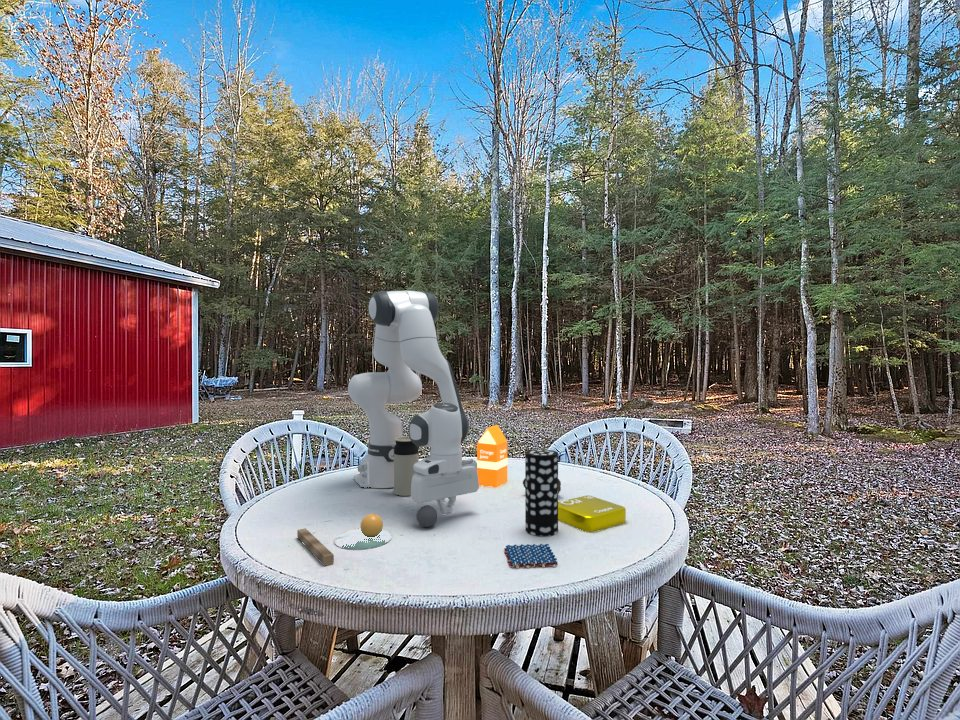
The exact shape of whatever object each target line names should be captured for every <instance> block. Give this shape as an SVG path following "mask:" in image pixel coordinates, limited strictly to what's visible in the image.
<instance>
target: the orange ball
mask: <svg viewBox="0 0 960 720" xmlns="http://www.w3.org/2000/svg"><path fill="white" fill-rule="evenodd" d="M359 527H360V528H361V531H362V533H363V534H364V535H365V536H367V537H375V536H377V535H378V534H379V533H380V532H381V531H382V529H384V523H383V519H382V518H381V516H379V515H378V514H375V513H370V514H366V515H365V516H363V518H362V519H361V522H360V525H359Z"/></svg>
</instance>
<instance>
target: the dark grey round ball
mask: <svg viewBox="0 0 960 720" xmlns="http://www.w3.org/2000/svg"><path fill="white" fill-rule="evenodd" d="M437 511H438V510H437V509H436V508H435V507H434V506H432V505H429V504H427V505H422V506H421V507H420V508H419V509H418V511H416V521H417V523H418V524H419V525H420V526H421V527H423V528H431V527H432V526H434V525H435V524H436V522H437V521H438V517H439V516H438V512H437Z"/></svg>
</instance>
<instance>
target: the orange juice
mask: <svg viewBox="0 0 960 720" xmlns="http://www.w3.org/2000/svg"><path fill="white" fill-rule="evenodd" d="M476 463H477V473H478V480H479V486H481V485H484V486H483V487H488V486H492V487H491V488H496V487H497V488H499V487H500V485H501V484H502V485H504V484H506V483H507V482H508V439H507V438H506V437H505V434H504V433H503V431H502V429H501V428H500V426H499V425H498V424H496V425H492V426H488V427H486V429H485V431H484V433H483V434H482V435H481V437H480V439H479V440H478V441H477V443H476ZM505 482H506V483H505ZM503 483H504V484H503ZM502 485H501V486H502ZM498 486H499V487H498Z"/></svg>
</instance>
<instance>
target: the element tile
mask: <svg viewBox="0 0 960 720" xmlns="http://www.w3.org/2000/svg"><path fill="white" fill-rule="evenodd" d="M626 513H627V510H626V507H625V506H623V505H619V504H617V503H613V502H610V501H607V500H605V499H601V498H598V497H596V496H592V495H584V496H583V495H582V496H578V497H573V498H569V499H565V500H559V501H558V522H560V523H563V524H565V525H568V526H570V527H572V526H573V528H575V529H577V528H578V529H577V530H580V529H581V530H580V531H582V530H583V532H585V531H586V533H594V532H595V531H596V532H599V531H603V530H606V529H610V528H613V527H612V526H614V527H617V526H620V524H621V525H624V524H626V523H625V522H626V519H627V517H626V516H627V515H626ZM623 523H624V524H623ZM616 525H617V526H616ZM609 527H610V528H609ZM602 529H603V530H602ZM598 530H599V531H598ZM596 532H595V533H596Z"/></svg>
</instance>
